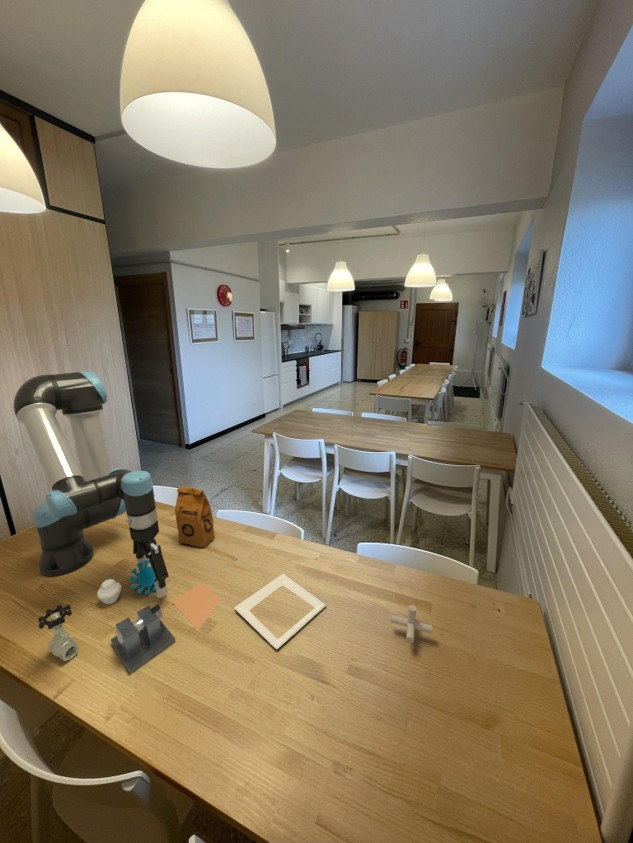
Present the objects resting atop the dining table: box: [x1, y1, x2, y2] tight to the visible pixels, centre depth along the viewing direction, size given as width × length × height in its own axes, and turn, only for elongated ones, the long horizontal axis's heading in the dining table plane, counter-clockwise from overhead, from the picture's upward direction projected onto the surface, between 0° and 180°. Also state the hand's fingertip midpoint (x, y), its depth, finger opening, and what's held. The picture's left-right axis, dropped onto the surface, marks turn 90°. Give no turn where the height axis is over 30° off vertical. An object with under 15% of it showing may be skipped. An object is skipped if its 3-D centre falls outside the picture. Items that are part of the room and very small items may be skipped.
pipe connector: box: [390, 604, 433, 644], centre depth 84 cm, size 10×10×10 cm
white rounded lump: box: [96, 578, 122, 605], centre depth 97 cm, size 6×6×7 cm
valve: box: [37, 604, 80, 662], centre depth 80 cm, size 7×7×12 cm
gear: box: [128, 559, 157, 596], centre depth 103 cm, size 11×6×10 cm
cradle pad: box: [171, 582, 221, 632], centre depth 96 cm, size 15×10×1 cm, turn 49°
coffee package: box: [174, 486, 215, 548], centre depth 123 cm, size 10×12×22 cm
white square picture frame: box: [234, 573, 327, 650], centre depth 94 cm, size 19×19×2 cm
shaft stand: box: [110, 604, 176, 675], centre depth 83 cm, size 12×11×8 cm
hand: (153, 584), depth 102 cm, fingers open, 12 cm apart
